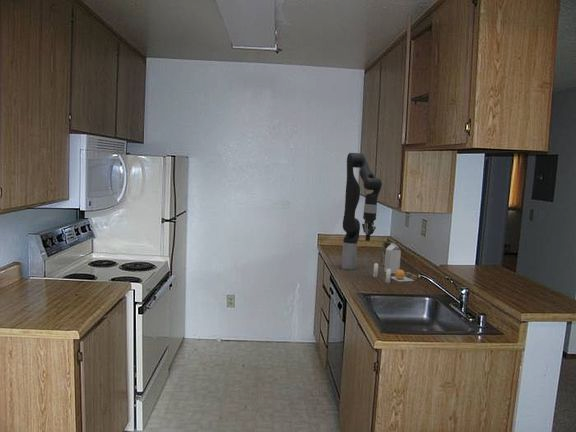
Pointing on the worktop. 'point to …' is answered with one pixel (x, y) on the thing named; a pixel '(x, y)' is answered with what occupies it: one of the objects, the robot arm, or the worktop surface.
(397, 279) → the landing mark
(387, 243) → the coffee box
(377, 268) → the left post
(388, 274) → the right post
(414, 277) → the backstop strip
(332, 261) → the worktop surface
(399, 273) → the ball
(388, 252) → the milk carton
